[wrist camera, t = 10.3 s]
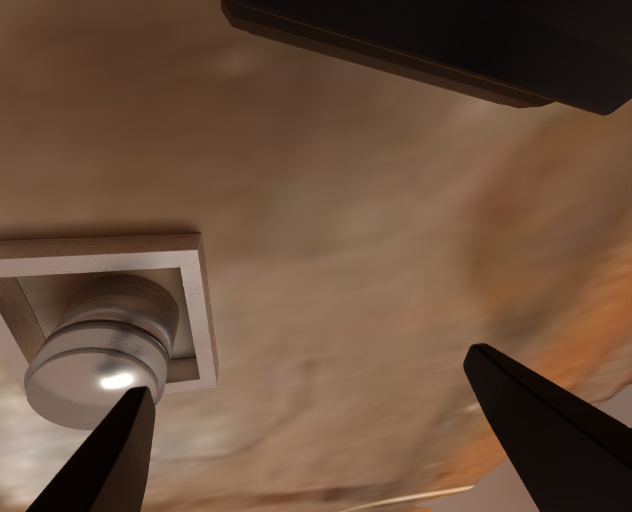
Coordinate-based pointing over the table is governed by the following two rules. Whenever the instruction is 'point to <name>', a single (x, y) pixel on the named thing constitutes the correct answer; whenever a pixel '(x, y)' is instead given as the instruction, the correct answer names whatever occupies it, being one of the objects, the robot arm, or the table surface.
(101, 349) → the piston
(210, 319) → the grey square frame
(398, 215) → the table surface
